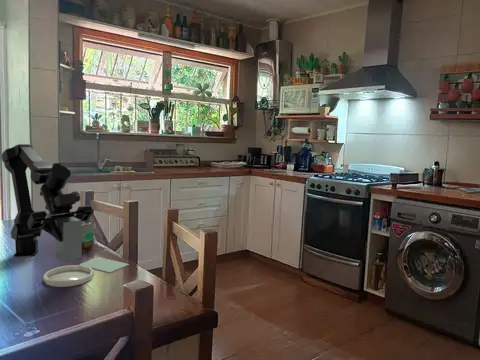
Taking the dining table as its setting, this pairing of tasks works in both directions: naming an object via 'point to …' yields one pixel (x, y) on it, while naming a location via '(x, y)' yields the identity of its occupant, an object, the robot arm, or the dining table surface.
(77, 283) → the ceramic dish
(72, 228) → the tea tin
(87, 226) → the food container
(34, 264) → the dining table surface
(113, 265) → the rubber mat
